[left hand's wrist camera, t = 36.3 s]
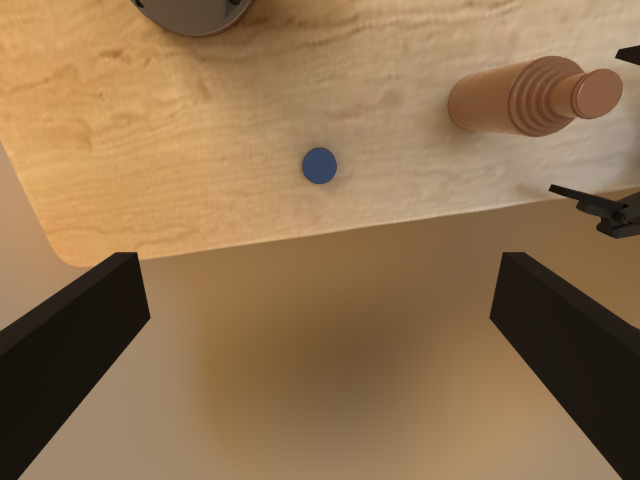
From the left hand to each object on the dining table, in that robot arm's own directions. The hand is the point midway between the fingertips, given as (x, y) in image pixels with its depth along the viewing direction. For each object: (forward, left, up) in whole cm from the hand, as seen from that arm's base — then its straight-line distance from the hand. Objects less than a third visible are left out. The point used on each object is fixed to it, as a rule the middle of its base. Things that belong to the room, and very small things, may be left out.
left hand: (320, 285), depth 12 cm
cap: (0, 0, -30) cm, 30 cm away
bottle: (+18, +7, -32) cm, 37 cm away
